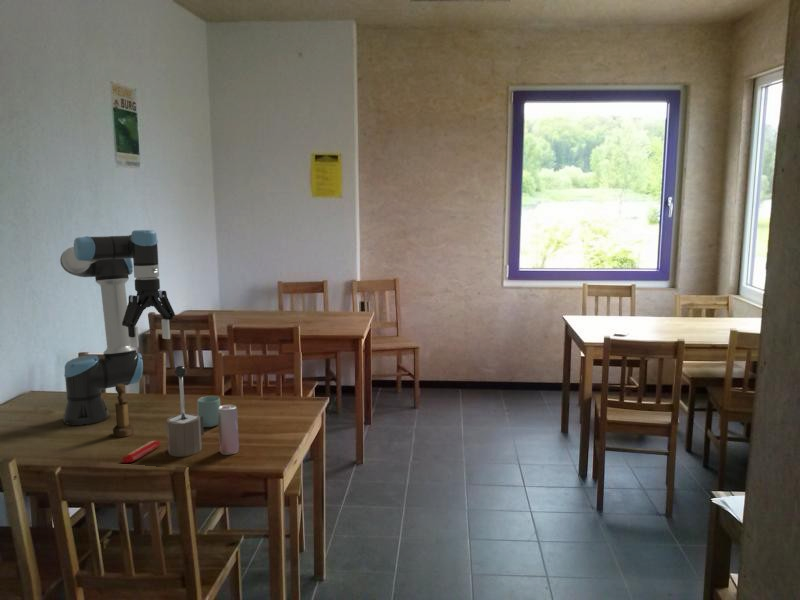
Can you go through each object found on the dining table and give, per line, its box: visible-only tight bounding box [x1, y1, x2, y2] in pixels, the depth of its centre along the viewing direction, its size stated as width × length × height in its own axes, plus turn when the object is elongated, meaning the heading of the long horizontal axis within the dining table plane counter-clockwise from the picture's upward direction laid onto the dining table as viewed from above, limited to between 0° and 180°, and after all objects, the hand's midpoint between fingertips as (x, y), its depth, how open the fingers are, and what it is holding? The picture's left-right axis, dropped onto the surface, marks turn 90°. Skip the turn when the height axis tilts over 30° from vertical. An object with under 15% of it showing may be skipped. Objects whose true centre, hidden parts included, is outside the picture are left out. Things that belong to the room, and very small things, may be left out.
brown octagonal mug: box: [165, 413, 205, 458], centre depth 207 cm, size 10×13×11 cm
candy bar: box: [121, 440, 161, 464], centre depth 203 cm, size 16×4×3 cm, turn 165°
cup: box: [196, 395, 221, 428], centre depth 229 cm, size 8×8×10 cm
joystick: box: [174, 365, 187, 420], centre depth 204 cm, size 7×7×19 cm
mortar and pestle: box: [112, 384, 134, 438], centre depth 221 cm, size 7×6×18 cm
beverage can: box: [217, 404, 240, 456], centre depth 204 cm, size 6×6×15 cm
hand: (151, 342), depth 208 cm, fingers open, 13 cm apart
